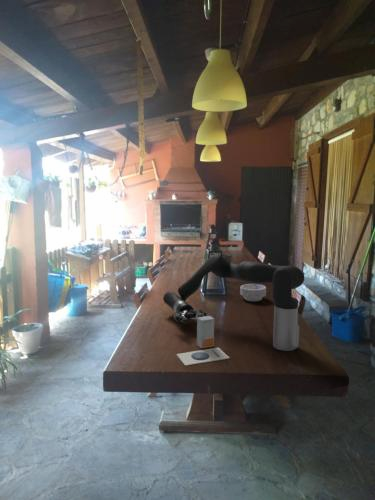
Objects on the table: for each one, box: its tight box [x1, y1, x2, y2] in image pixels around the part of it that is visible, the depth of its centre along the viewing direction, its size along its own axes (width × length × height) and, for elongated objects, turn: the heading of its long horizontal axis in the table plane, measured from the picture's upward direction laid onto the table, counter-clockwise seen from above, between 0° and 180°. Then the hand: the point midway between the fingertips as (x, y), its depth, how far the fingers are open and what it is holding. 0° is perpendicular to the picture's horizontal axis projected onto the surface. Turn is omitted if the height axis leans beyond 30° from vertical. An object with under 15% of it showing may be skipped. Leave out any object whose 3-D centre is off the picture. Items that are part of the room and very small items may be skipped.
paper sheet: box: [175, 347, 230, 367], centre depth 141 cm, size 18×10×1 cm, turn 110°
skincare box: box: [196, 315, 215, 349], centre depth 150 cm, size 6×4×12 cm
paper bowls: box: [239, 283, 267, 302], centre depth 218 cm, size 15×15×8 cm
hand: (195, 320), depth 160 cm, fingers open, 8 cm apart
